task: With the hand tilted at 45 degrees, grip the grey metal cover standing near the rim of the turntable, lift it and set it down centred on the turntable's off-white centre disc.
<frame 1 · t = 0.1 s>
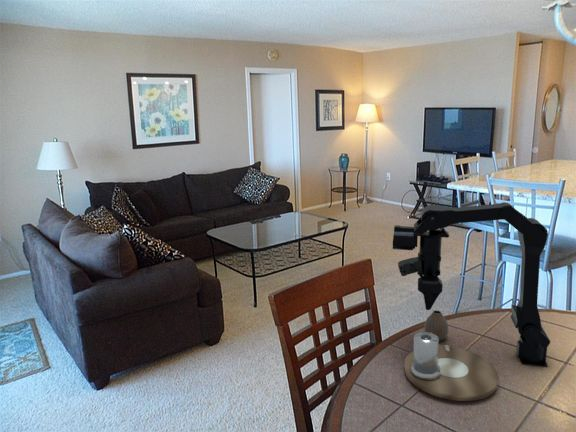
hand: (427, 302, 128), 15 cm above the table, tool pointing down, fingers open, 9 cm apart
turntable: (449, 371, 117), point 1 cm above the table, hinge at 0.0°, touching cover
vase: (435, 338, 137), on the table
cover: (425, 372, 115), point 3 cm above the table, touching turntable
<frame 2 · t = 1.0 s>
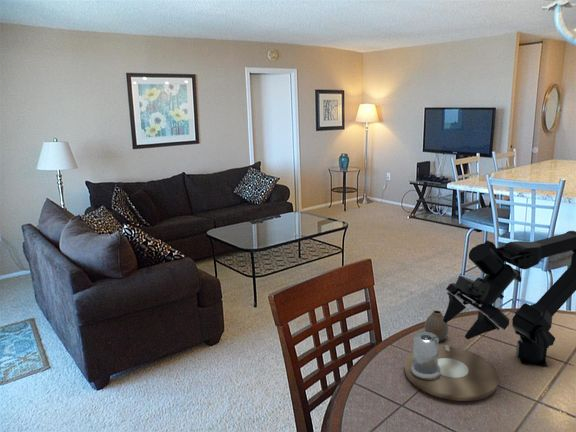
hand: (454, 329, 114), 13 cm above the table, tool tilted 45°, fingers open, 9 cm apart
nothing on the table moved.
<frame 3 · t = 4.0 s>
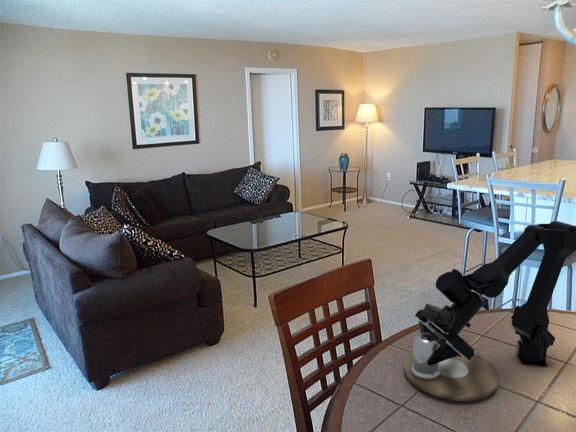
hand: (421, 358, 114), 7 cm above the table, tool tilted 45°, fingers closed on cover, 6 cm apart
cover: (425, 372, 115), point 3 cm above the table, touching gripper, turntable
everything else where it was.
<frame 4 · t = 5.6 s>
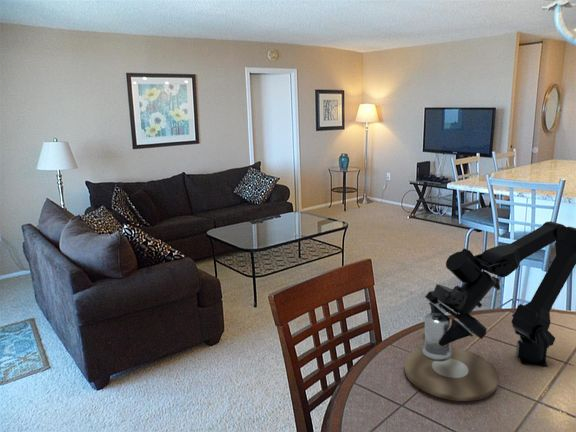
hand: (432, 338, 113), 12 cm above the table, tool tilted 45°, fingers closed on cover, 6 cm apart
turntable: (449, 371, 117), point 1 cm above the table, hinge at 0.0°
cover: (437, 353, 115), point 7 cm above the table, touching gripper
everything else where it was.
when the fingers open (9 cm above the table, at t = 7.3 s): cover drops 1 cm, resting on turntable.
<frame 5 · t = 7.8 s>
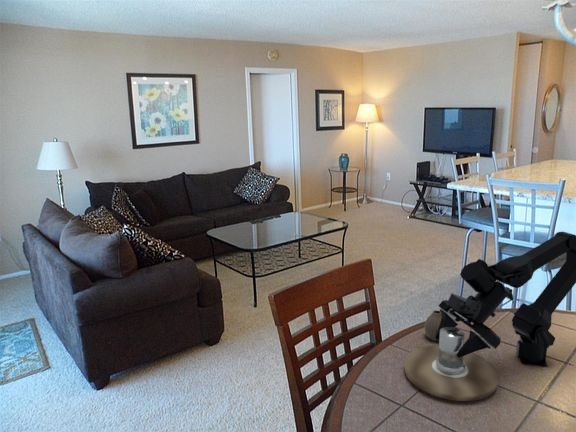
hand: (446, 347, 115), 9 cm above the table, tool tilted 45°, fingers open, 9 cm apart
turntable: (449, 371, 117), point 1 cm above the table, hinge at 0.0°, touching cover
cover: (450, 367, 117), point 3 cm above the table, touching turntable
everything else where it was.
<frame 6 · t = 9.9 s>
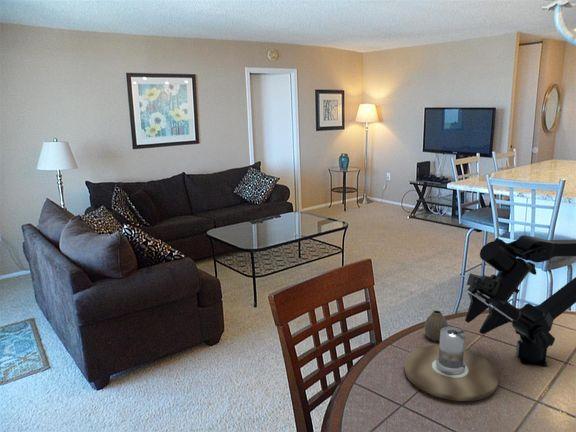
hand: (473, 327, 117), 12 cm above the table, tool tilted 35°, fingers open, 9 cm apart
nothing on the table moved.
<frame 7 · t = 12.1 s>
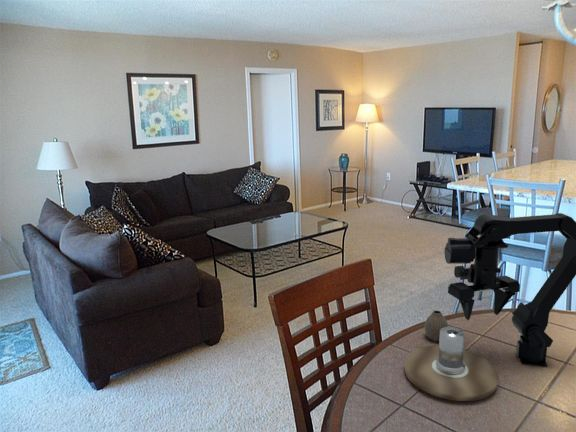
hand: (481, 316, 122), 13 cm above the table, tool pointing down, fingers open, 9 cm apart
nothing on the table moved.
at the end: cover 0.1 cm from the turntable (horizontally); cover tilted 1°; cover touching turntable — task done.
